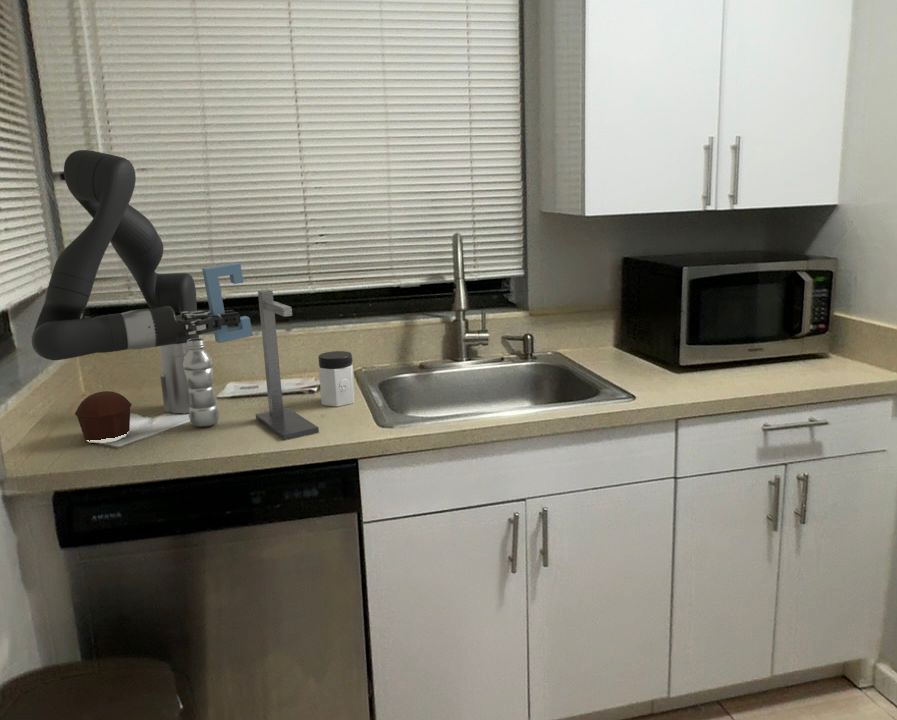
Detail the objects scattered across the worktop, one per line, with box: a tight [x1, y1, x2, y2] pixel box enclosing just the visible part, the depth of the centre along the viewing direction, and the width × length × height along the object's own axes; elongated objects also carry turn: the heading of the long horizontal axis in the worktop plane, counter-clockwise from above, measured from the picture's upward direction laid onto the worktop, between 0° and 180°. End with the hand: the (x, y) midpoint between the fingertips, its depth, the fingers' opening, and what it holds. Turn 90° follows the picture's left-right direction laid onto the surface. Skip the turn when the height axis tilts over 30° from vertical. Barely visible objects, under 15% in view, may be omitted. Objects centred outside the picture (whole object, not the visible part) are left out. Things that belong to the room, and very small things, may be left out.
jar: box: [318, 350, 356, 408], centre depth 186 cm, size 9×8×12 cm
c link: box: [201, 262, 254, 344], centre depth 153 cm, size 7×3×15 cm, turn 122°
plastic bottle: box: [183, 337, 220, 428], centre depth 170 cm, size 6×7×20 cm
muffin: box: [74, 391, 132, 441], centre depth 166 cm, size 12×11×10 cm
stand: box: [255, 289, 320, 441], centre depth 167 cm, size 8×18×30 cm, turn 33°
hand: (236, 316), depth 155 cm, fingers closed on c link, 2 cm apart
